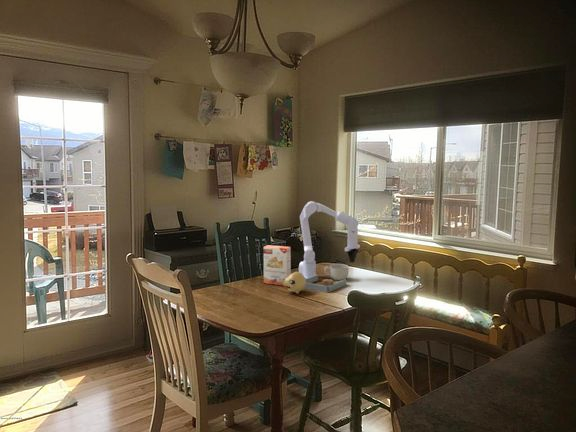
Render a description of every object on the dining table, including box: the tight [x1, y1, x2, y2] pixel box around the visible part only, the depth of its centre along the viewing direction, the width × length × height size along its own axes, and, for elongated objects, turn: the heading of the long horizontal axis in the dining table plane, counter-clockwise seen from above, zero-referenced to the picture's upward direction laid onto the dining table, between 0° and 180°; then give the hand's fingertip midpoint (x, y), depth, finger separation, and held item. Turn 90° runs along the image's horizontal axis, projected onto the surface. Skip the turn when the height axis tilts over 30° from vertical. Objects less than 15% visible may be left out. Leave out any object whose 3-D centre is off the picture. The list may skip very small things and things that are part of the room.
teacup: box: [323, 263, 349, 281], centre depth 262 cm, size 14×11×8 cm
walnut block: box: [322, 278, 334, 286], centre depth 240 cm, size 4×4×5 cm
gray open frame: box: [305, 274, 347, 293], centre depth 247 cm, size 19×19×3 cm
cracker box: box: [263, 244, 292, 287], centre depth 251 cm, size 14×6×21 cm, turn 68°
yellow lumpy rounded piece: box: [283, 271, 306, 295], centre depth 234 cm, size 10×12×11 cm
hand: (352, 262), depth 264 cm, fingers closed
